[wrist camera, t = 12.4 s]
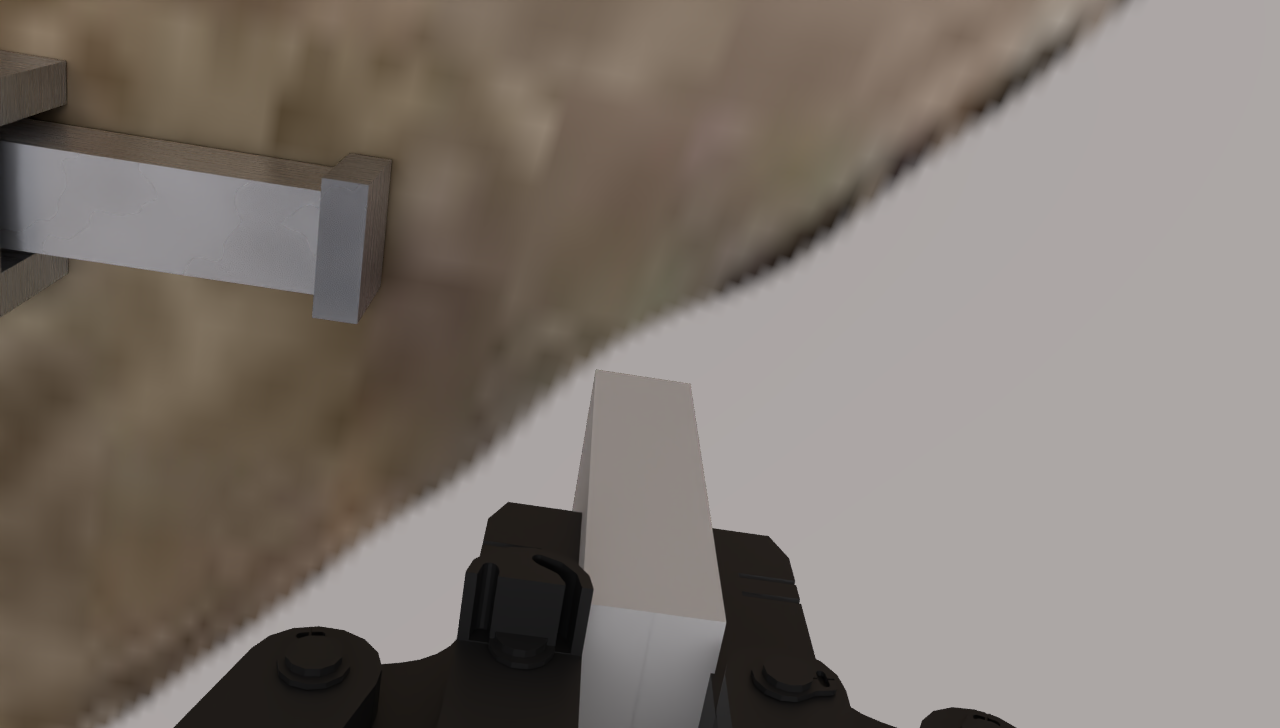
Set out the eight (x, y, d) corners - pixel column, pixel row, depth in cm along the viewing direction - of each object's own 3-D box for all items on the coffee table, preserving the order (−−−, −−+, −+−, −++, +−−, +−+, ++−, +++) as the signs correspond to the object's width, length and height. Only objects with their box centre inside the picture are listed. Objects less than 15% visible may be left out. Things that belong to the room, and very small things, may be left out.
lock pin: (-38, 223, 27) (-106, 255, 25) (-44, 90, 26) (-116, 108, 24) (380, 286, 28) (357, 323, 26) (391, 159, 27) (368, 185, 25)
